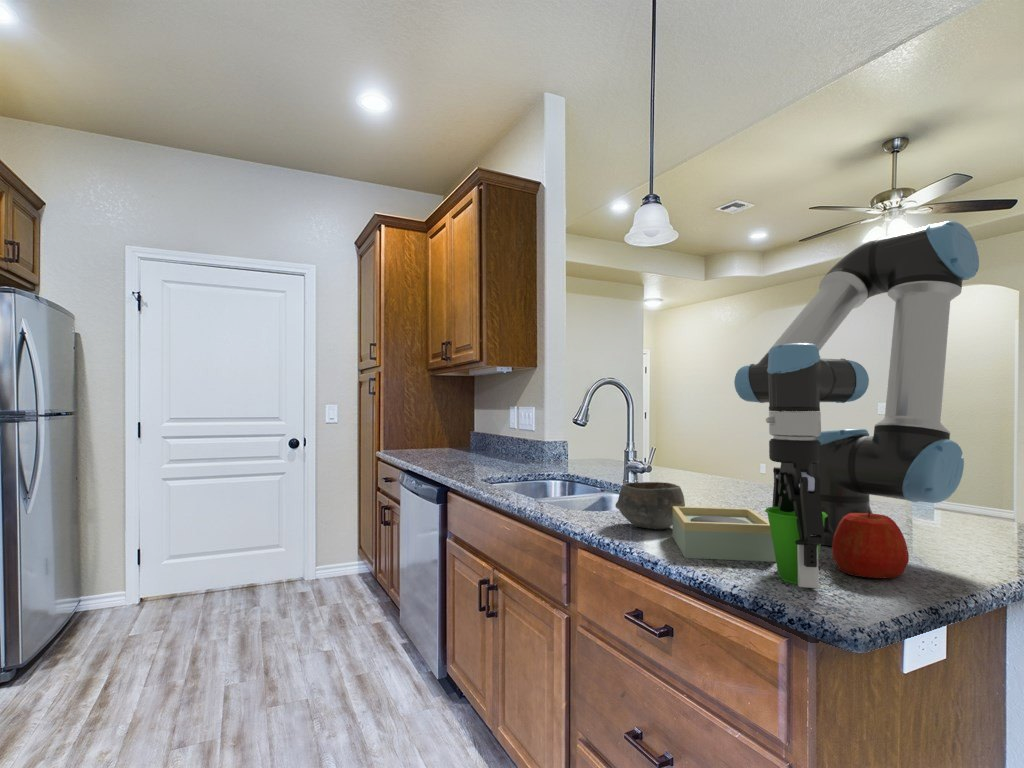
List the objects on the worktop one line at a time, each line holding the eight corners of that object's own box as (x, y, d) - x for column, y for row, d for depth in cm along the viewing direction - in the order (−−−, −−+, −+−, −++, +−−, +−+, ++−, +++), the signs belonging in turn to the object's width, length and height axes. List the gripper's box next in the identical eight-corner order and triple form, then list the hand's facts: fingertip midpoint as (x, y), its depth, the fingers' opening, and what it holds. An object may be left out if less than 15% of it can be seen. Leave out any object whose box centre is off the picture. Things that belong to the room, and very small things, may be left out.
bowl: (693, 535, 117) (692, 489, 117) (622, 535, 117) (622, 488, 117) (674, 521, 131) (674, 480, 131) (611, 521, 131) (611, 479, 131)
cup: (838, 591, 82) (836, 518, 82) (774, 587, 84) (773, 516, 84) (817, 573, 91) (816, 507, 91) (759, 569, 92) (758, 505, 93)
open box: (751, 539, 113) (750, 508, 113) (776, 561, 97) (775, 525, 97) (672, 536, 115) (672, 506, 116) (684, 557, 99) (684, 522, 100)
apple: (881, 589, 83) (879, 519, 83) (816, 569, 93) (815, 507, 93) (923, 580, 87) (922, 514, 88) (857, 562, 97) (856, 503, 98)
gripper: (751, 434, 99) (752, 556, 98) (793, 442, 78) (796, 599, 77) (794, 434, 98) (796, 558, 97) (850, 442, 77) (853, 602, 76)
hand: (796, 576), depth 87 cm, fingers closed on cup, 9 cm apart
